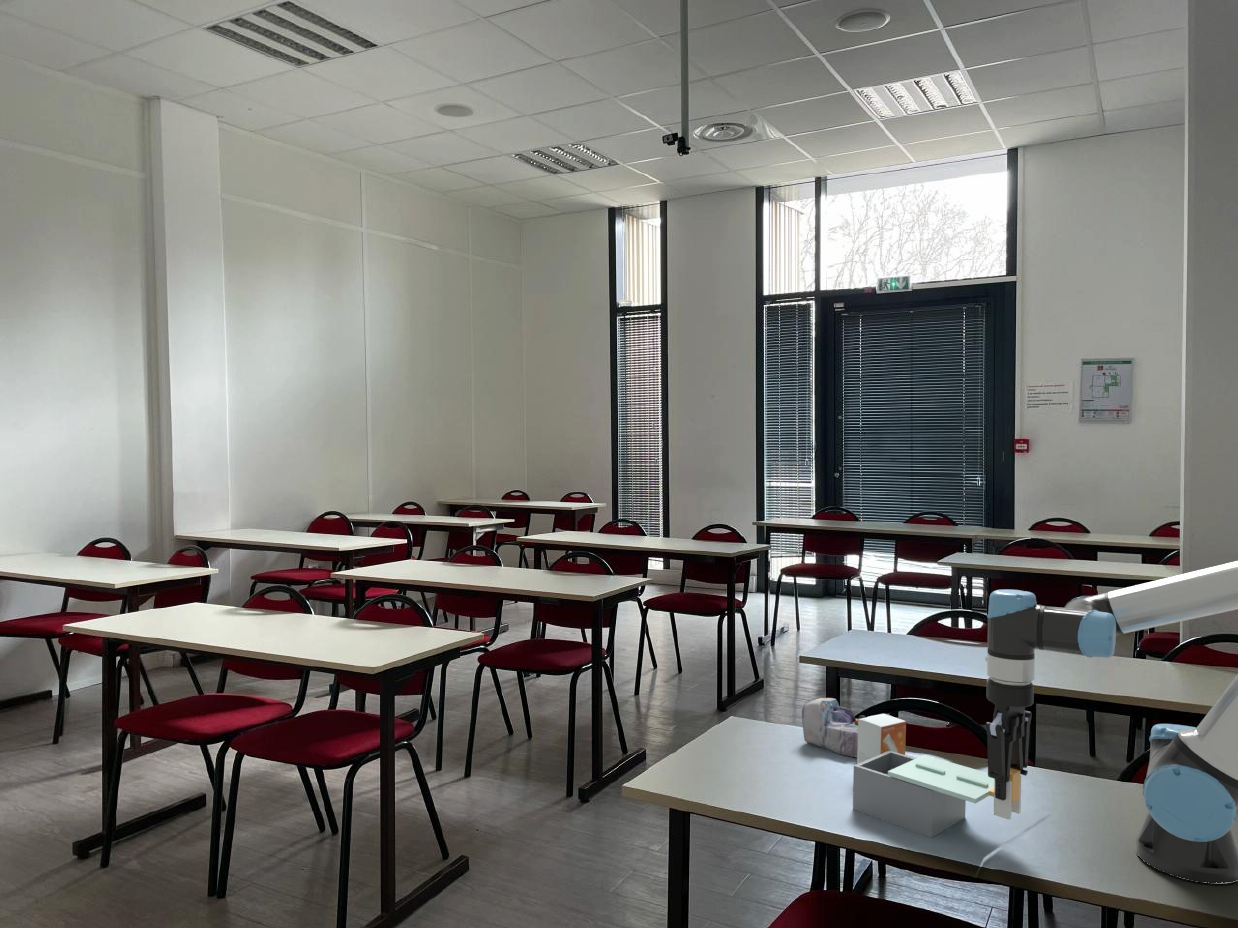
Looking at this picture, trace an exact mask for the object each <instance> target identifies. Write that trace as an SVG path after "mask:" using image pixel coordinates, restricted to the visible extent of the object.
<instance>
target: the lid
mask: <svg viewBox="0 0 1238 928" xmlns="http://www.w3.org/2000/svg"><path fill="white" fill-rule="evenodd" d="M915 758H916V759H914V760H912V761H909V762H907V763H905V764H903V765H901V766H898V767H896V768H894V769H892V770H890V771H888V776H891V777H894V778H897V779H900V780H903V781H906V782H909V783H913V784H916V785H919V786H922V787H925V788H928V789H931V790H935V791H938V792H941V793H944V794H947V795H950V796H953V797H956V798H960V799H963V800H966V801H967V802H969V803H973V804H977V803H979V802H981V801H982V800H985V799H986V798H988V797H993V798H994V778H991V777H988V772H986V771H983V770H979V769H976V768H975V769H974V768H971V767H969V766H966V765H961V764H958V763H954V762H951V761H948V760H945V759H941V758H937V757H933V756H930V755H928V754H927V755H926V754H923V755H921V756H918V757H915ZM1020 776H1021V774H1020V770H1016V769H1012V768H1010V779H1009V780H1010V781H1012V803H1013V802H1014V801H1016V800H1018V799H1019V798H1020Z"/></svg>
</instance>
